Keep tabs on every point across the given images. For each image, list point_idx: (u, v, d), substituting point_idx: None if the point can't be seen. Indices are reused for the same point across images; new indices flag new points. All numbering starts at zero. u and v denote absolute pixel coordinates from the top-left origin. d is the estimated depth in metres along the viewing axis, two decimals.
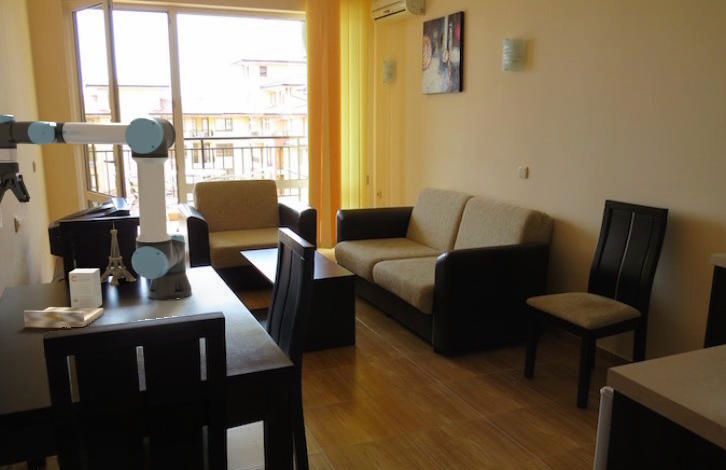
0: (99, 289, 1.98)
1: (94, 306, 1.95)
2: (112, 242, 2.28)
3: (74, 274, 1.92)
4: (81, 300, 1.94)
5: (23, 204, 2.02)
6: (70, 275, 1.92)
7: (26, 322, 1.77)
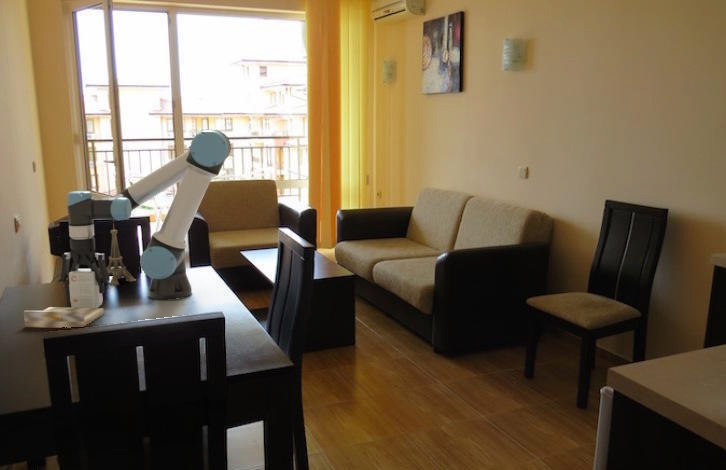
0: None
1: (94, 306, 1.95)
2: (112, 242, 2.28)
3: (74, 274, 1.92)
4: (81, 300, 1.94)
5: None
6: (70, 275, 1.92)
7: (26, 322, 1.77)
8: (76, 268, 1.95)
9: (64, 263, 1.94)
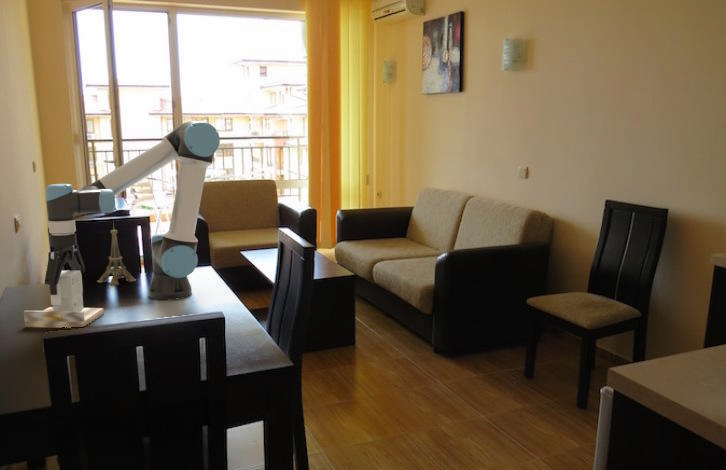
0: None
1: (82, 305, 1.89)
2: (112, 242, 2.28)
3: (73, 276, 1.81)
4: (77, 302, 1.85)
5: None
6: (71, 278, 1.80)
7: (26, 322, 1.77)
8: None
9: (56, 262, 1.75)
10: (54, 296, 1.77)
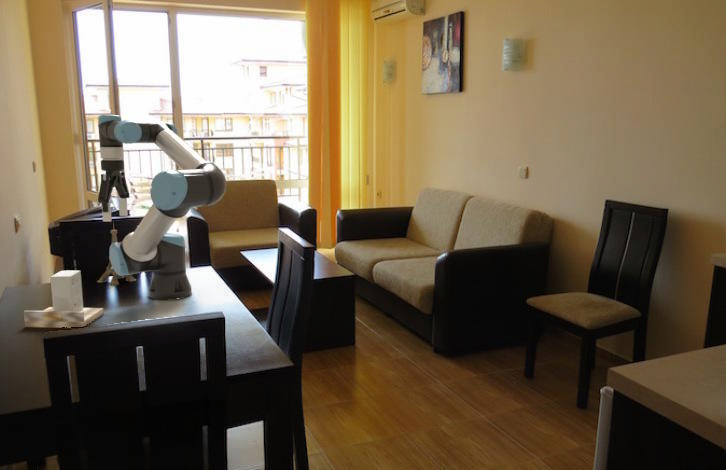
0: None
1: (82, 305, 1.89)
2: (112, 242, 2.28)
3: (73, 276, 1.81)
4: (77, 302, 1.85)
5: (124, 200, 2.12)
6: (71, 278, 1.80)
7: (26, 322, 1.77)
8: None
9: (108, 183, 1.98)
10: (105, 214, 2.00)
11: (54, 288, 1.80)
